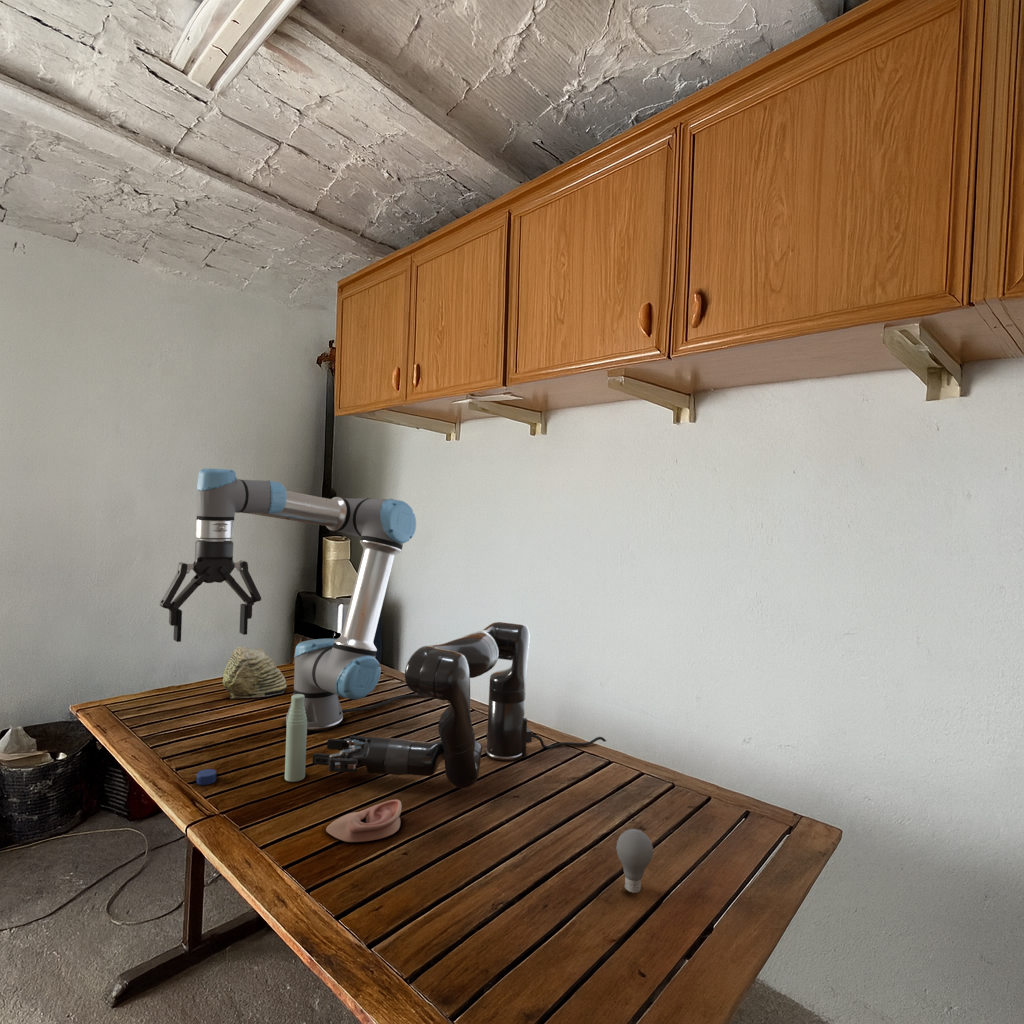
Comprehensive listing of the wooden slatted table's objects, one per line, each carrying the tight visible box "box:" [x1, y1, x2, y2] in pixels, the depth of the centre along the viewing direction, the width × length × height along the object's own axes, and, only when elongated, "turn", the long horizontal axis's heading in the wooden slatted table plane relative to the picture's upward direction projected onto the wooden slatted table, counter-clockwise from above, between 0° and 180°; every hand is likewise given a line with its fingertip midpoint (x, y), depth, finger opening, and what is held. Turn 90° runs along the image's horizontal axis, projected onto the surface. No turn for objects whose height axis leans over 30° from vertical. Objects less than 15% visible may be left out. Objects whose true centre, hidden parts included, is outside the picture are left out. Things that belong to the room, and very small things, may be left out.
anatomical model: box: [325, 799, 403, 843], centre depth 122 cm, size 13×4×12 cm
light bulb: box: [615, 828, 654, 894], centre depth 106 cm, size 6×6×10 cm
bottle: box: [284, 694, 308, 783], centre depth 142 cm, size 4×4×18 cm
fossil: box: [222, 646, 288, 699], centre depth 198 cm, size 9×18×15 cm, turn 132°
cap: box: [195, 768, 218, 786], centre depth 139 cm, size 4×4×2 cm
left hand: (211, 637), depth 138 cm, fingers open, 13 cm apart
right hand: (320, 750), depth 142 cm, fingers open, 8 cm apart
